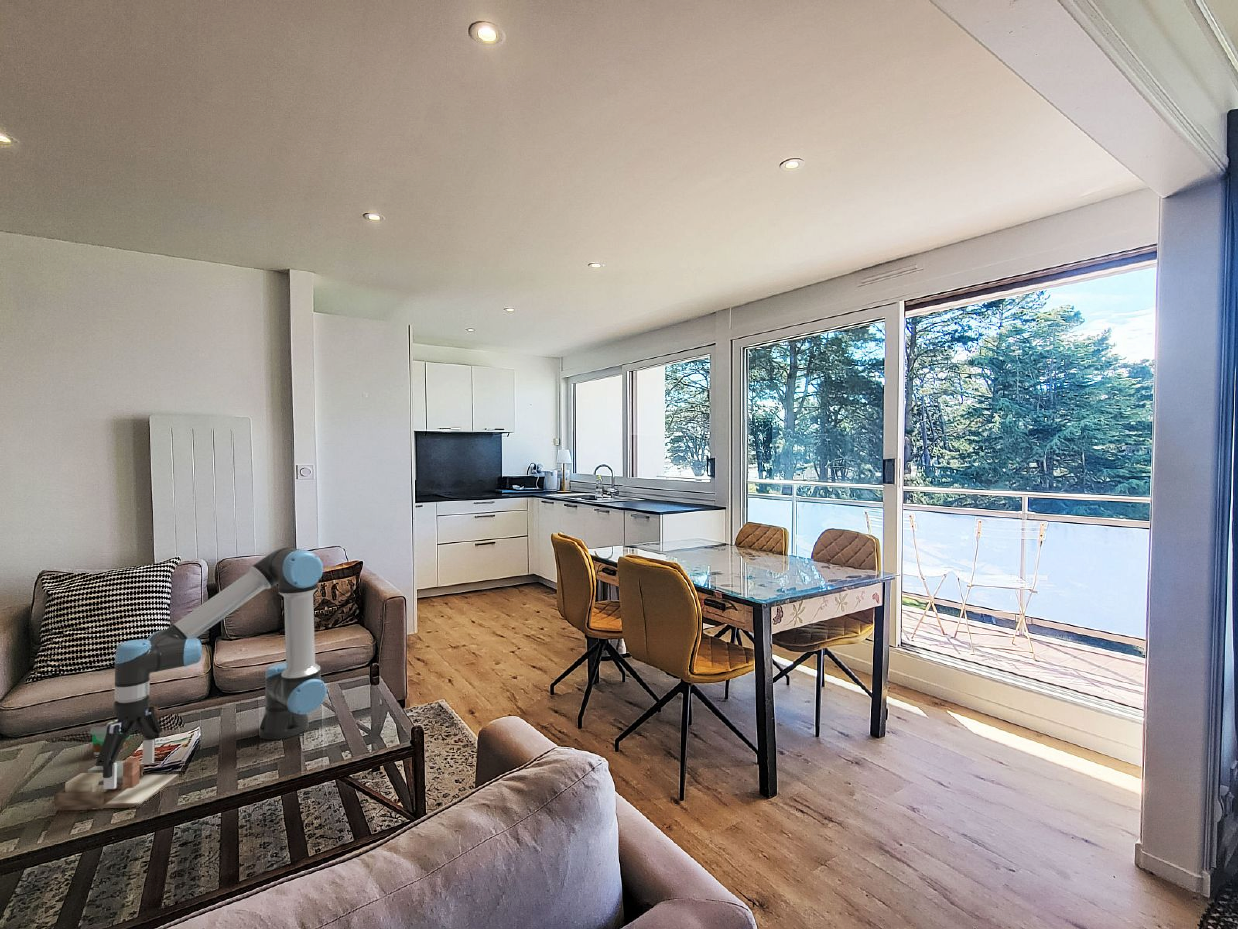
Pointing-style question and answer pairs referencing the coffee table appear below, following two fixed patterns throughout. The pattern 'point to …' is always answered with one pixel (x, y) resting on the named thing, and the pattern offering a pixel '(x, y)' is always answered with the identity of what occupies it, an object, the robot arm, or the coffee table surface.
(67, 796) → the lane rack
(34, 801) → the coffee table surface
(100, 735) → the food container
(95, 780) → the pull block
